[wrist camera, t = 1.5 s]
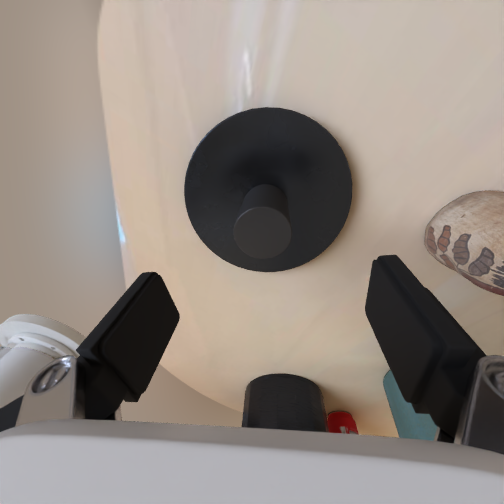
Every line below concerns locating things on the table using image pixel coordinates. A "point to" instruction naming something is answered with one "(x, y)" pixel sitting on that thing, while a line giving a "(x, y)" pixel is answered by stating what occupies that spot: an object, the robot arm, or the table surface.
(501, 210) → the figurine
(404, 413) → the flower pot
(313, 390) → the pot
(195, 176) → the lid
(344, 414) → the beverage can
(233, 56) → the table surface
